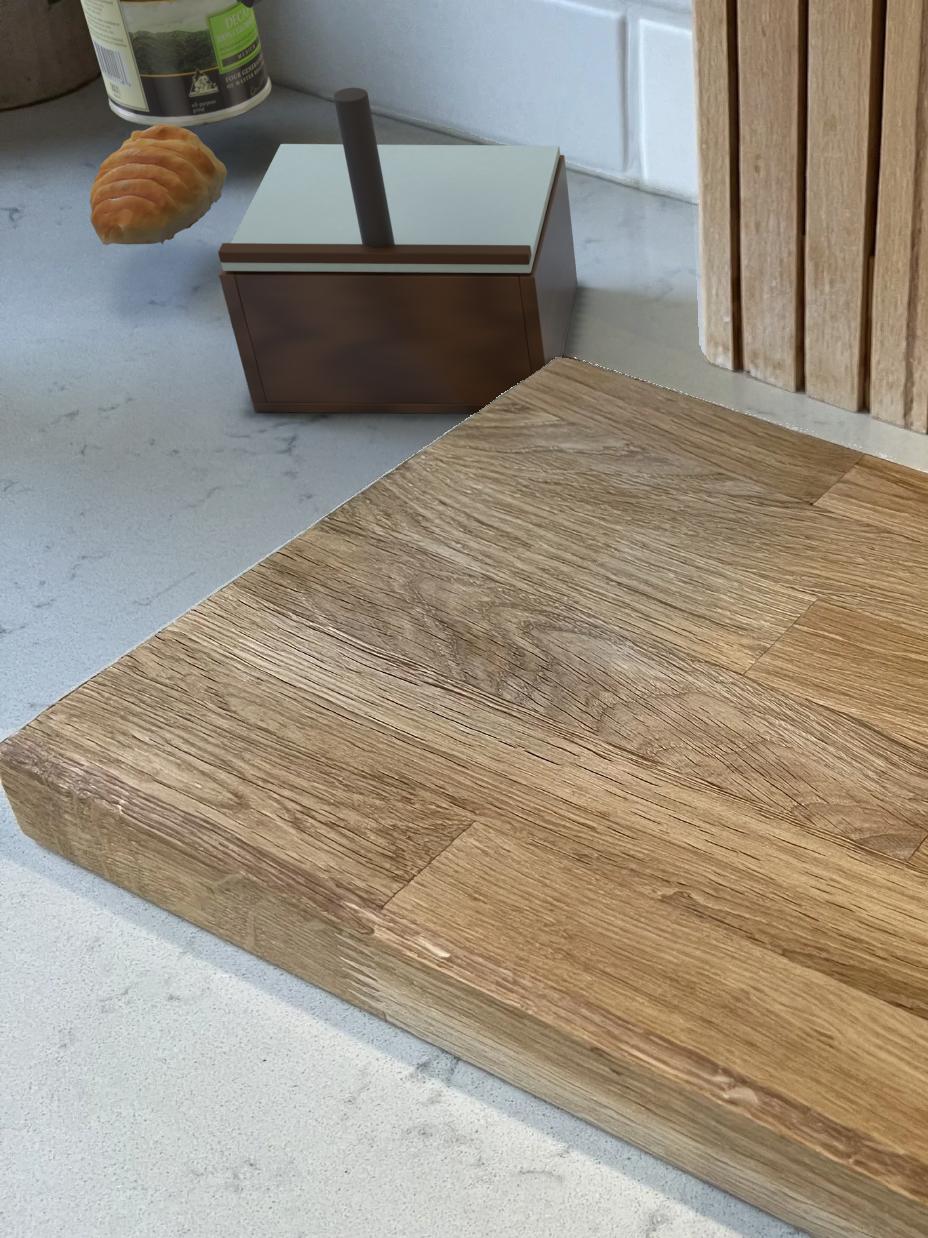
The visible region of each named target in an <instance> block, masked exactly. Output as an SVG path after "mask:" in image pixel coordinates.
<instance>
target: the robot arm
mask: <svg viewBox="0 0 928 1238" xmlns="http://www.w3.org/2000/svg"><path fill="white" fill-rule="evenodd" d="M236 1H237V2H238V3H239V2H240V1H241V2H242V3H243V5H245V6H246V7H248V8H251V7H253V8H254V6H256V5H257V4H260V3H262V1H263V0H236Z"/></svg>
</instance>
